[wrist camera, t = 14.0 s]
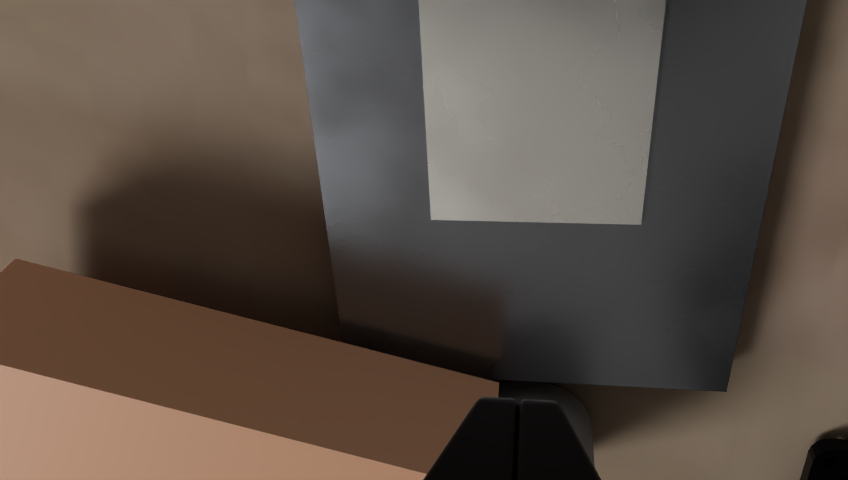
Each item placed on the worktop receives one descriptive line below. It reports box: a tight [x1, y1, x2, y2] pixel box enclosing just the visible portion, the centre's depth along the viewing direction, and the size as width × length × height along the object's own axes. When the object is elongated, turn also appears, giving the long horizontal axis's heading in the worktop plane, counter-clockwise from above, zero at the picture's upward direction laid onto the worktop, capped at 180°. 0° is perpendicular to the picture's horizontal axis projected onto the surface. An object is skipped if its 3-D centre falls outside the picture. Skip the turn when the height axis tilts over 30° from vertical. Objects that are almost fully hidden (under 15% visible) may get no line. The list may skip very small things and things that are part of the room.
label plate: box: [295, 0, 807, 392], centre depth 18 cm, size 10×13×1 cm
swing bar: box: [0, 259, 594, 480], centre depth 21 cm, size 16×5×5 cm, turn 78°
